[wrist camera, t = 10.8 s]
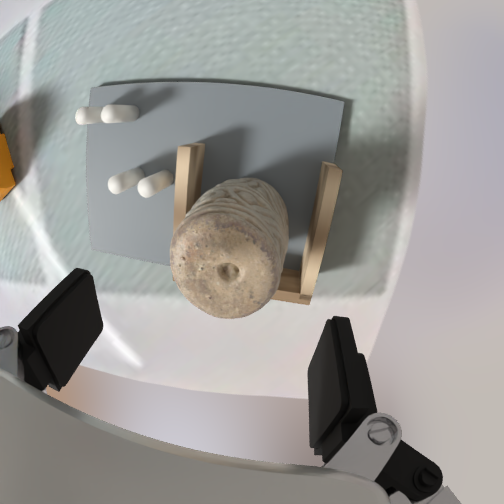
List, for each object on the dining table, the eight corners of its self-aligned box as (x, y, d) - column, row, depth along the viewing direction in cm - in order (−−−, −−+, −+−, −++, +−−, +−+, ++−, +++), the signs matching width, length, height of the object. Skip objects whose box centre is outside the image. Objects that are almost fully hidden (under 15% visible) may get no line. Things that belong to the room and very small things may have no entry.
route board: (96, 88, 22) (65, 86, 18) (342, 102, 21) (355, 97, 16) (96, 246, 30) (71, 265, 25) (304, 284, 29) (306, 314, 24)
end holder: (194, 142, 23) (178, 146, 19) (333, 163, 22) (342, 170, 19) (186, 260, 28) (172, 280, 24) (306, 281, 27) (309, 305, 24)
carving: (251, 154, 23) (219, 179, 12) (305, 221, 25) (318, 297, 14) (197, 199, 25) (134, 257, 14) (250, 260, 27) (227, 349, 16)
